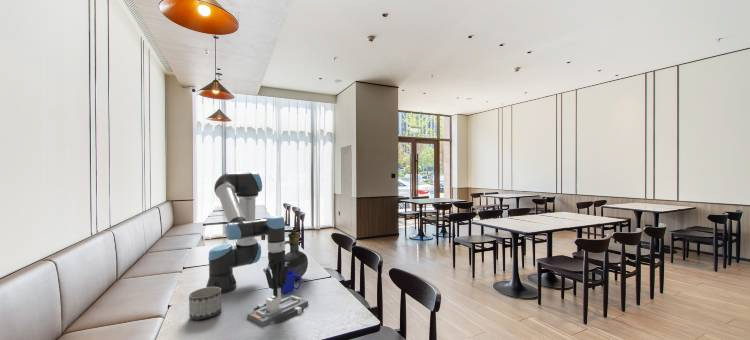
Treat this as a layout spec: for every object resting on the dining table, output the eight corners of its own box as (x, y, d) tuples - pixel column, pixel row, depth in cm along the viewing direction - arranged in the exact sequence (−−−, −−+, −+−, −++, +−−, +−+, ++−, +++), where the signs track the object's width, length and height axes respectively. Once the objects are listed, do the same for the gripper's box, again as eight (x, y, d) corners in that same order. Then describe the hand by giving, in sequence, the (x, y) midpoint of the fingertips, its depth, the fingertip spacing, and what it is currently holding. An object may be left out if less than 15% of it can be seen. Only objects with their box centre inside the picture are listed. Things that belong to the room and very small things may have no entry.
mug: (297, 295, 155) (297, 276, 155) (276, 294, 157) (275, 275, 157) (304, 289, 163) (304, 271, 163) (284, 288, 165) (283, 270, 165)
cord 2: (274, 322, 128) (274, 317, 128) (300, 309, 139) (300, 305, 139) (278, 324, 126) (277, 319, 126) (304, 311, 137) (304, 306, 137)
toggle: (266, 309, 135) (266, 298, 135) (274, 306, 138) (273, 295, 138) (271, 312, 133) (271, 300, 133) (279, 308, 136) (279, 297, 136)
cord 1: (252, 311, 138) (252, 307, 138) (278, 301, 149) (278, 296, 149) (255, 313, 136) (255, 308, 136) (281, 302, 147) (281, 297, 147)
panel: (247, 318, 132) (247, 311, 132) (292, 298, 151) (292, 292, 151) (262, 326, 125) (262, 318, 125) (308, 304, 144) (308, 298, 144)
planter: (199, 324, 128) (198, 300, 128) (183, 317, 134) (183, 294, 134) (227, 312, 138) (226, 289, 138) (211, 306, 145) (211, 284, 145)
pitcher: (310, 276, 182) (309, 227, 183) (290, 288, 165) (288, 233, 165) (296, 274, 187) (294, 226, 187) (274, 285, 169) (273, 232, 169)
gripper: (268, 255, 130) (270, 309, 130) (293, 248, 140) (294, 299, 140) (259, 252, 135) (260, 305, 135) (283, 246, 145) (284, 295, 145)
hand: (277, 302), depth 138 cm, fingers closed
